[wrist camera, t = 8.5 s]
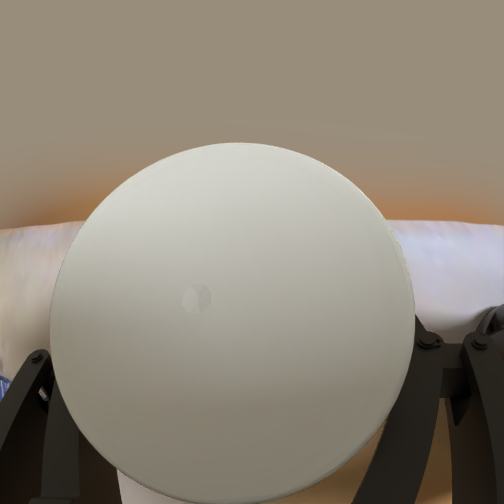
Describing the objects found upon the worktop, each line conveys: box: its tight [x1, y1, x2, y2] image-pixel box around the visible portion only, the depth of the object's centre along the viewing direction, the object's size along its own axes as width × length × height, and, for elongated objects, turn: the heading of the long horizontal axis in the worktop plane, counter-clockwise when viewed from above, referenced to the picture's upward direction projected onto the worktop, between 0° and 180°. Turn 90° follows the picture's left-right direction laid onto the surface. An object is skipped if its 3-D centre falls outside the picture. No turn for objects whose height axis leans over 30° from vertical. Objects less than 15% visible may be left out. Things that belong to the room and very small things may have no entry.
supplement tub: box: [50, 143, 415, 504], centre depth 12 cm, size 10×10×15 cm
